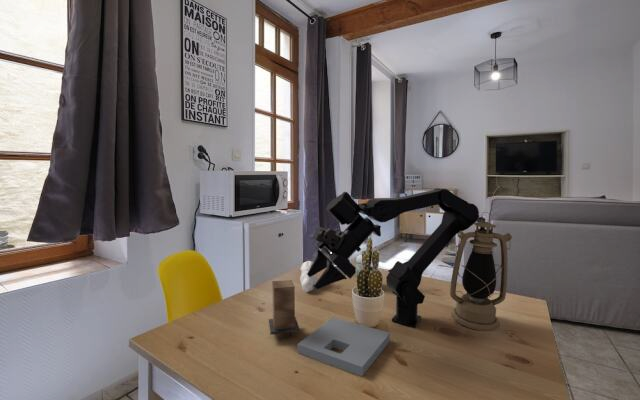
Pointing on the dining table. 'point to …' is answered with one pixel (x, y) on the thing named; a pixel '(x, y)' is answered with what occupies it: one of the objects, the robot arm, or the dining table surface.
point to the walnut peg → (283, 309)
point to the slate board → (345, 345)
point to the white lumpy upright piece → (307, 277)
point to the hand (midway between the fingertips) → (311, 281)
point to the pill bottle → (359, 262)
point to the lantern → (479, 278)
